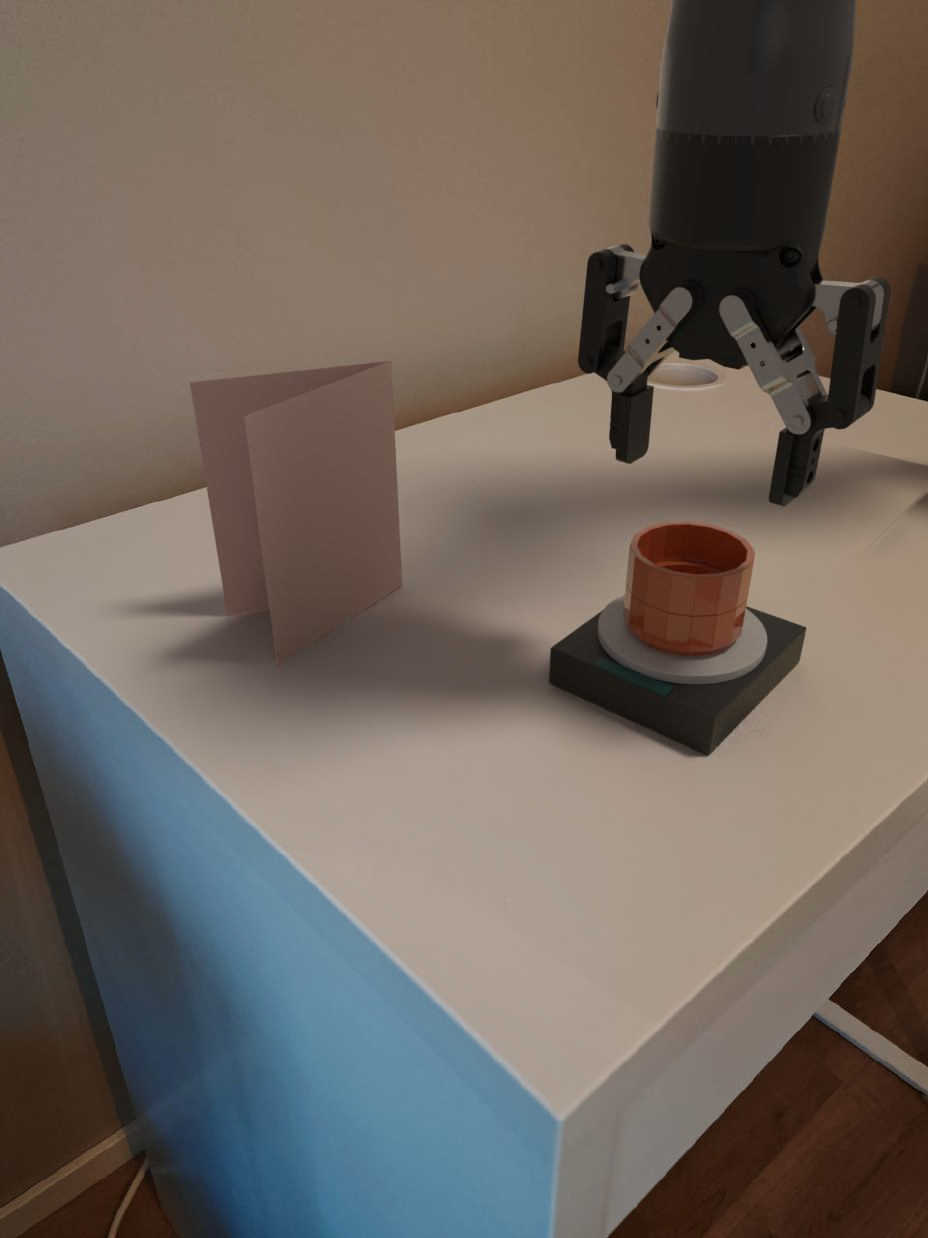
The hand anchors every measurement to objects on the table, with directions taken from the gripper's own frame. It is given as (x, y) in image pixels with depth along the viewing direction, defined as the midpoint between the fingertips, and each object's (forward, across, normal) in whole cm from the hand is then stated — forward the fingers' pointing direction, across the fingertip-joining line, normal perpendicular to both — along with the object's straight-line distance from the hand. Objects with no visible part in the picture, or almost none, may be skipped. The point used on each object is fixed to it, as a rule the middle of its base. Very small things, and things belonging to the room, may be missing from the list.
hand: (703, 477), depth 49 cm
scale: (+12, 0, 0) cm, 12 cm away
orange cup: (+9, 0, 0) cm, 9 cm away
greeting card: (+12, +20, +9) cm, 25 cm away
